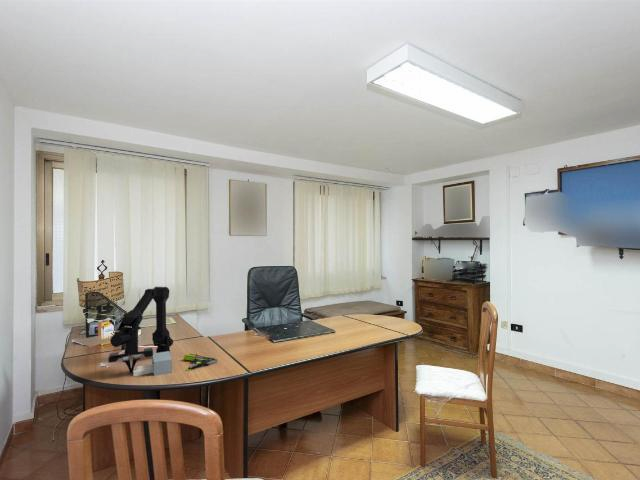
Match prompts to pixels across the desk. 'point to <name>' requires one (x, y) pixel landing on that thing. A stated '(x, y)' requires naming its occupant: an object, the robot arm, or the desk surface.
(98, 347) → the desk surface
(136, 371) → the tile
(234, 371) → the desk surface
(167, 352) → the overhang
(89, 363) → the desk surface
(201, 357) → the toy gun
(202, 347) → the desk surface
